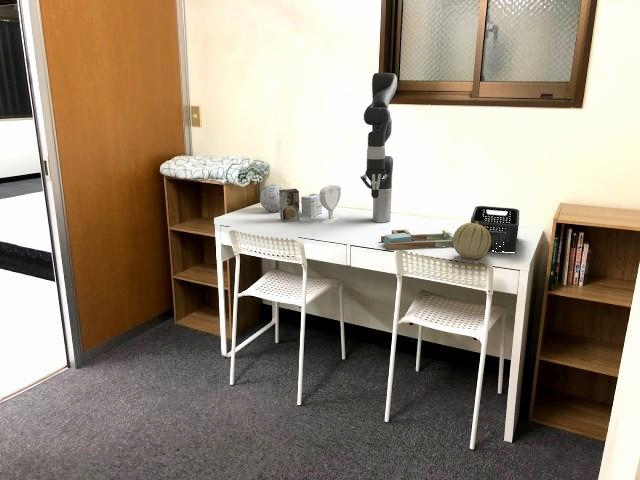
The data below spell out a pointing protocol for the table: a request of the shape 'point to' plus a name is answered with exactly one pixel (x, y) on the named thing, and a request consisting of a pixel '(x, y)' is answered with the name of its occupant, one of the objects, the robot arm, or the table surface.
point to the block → (397, 238)
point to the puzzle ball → (271, 198)
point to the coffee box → (289, 205)
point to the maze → (422, 244)
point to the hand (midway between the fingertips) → (374, 198)
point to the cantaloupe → (471, 240)
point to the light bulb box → (311, 205)
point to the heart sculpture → (330, 200)
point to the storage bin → (499, 227)
